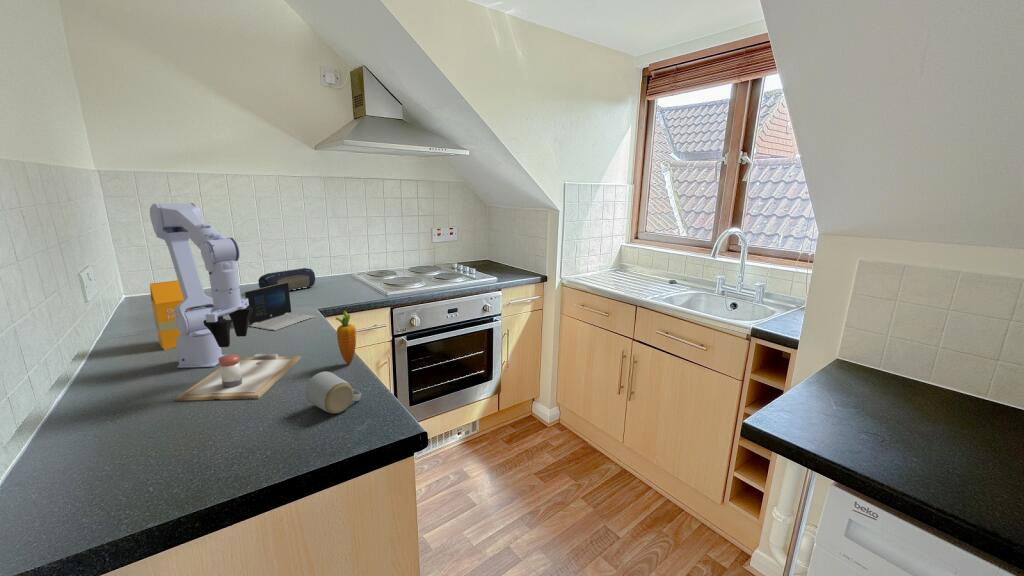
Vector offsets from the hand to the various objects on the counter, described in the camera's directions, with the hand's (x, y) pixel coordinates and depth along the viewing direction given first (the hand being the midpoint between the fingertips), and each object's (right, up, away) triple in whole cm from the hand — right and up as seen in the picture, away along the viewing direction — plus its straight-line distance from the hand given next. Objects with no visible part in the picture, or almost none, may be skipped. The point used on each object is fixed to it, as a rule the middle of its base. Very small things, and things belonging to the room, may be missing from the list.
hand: (233, 341), depth 106 cm
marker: (+2, -10, -3) cm, 11 cm away
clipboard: (+1, -10, +3) cm, 10 cm away
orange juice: (-35, -4, +27) cm, 44 cm away
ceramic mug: (+30, -13, -10) cm, 35 cm away
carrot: (+24, -8, +12) cm, 28 cm away
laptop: (-14, 0, +50) cm, 52 cm away
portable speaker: (-37, +12, +98) cm, 105 cm away
